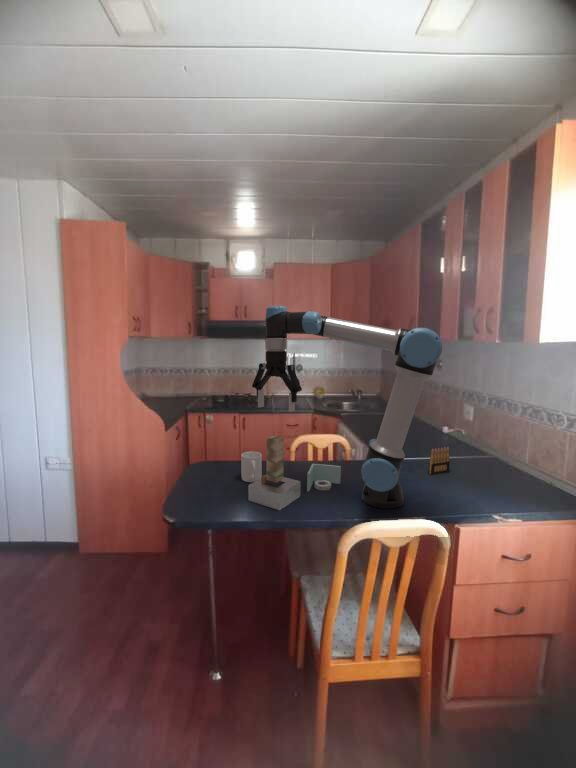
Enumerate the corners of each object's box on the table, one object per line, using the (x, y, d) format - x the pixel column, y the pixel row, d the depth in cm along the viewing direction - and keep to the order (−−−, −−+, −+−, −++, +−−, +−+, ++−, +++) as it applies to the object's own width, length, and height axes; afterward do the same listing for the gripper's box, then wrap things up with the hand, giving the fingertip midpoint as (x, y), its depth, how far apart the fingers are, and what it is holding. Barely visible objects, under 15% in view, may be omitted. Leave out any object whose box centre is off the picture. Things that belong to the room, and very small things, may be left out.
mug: (244, 486, 148) (243, 461, 147) (240, 476, 159) (240, 452, 158) (264, 484, 150) (265, 459, 149) (259, 474, 162) (259, 450, 160)
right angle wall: (306, 491, 144) (307, 473, 143) (312, 480, 156) (312, 463, 155) (337, 495, 142) (337, 476, 141) (340, 483, 153) (340, 466, 152)
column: (283, 478, 137) (284, 437, 135) (276, 482, 133) (276, 440, 131) (273, 476, 140) (273, 435, 138) (266, 479, 136) (266, 438, 134)
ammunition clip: (431, 475, 163) (432, 449, 162) (428, 473, 165) (429, 447, 163) (449, 472, 167) (451, 446, 166) (446, 470, 169) (448, 445, 167)
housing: (300, 496, 140) (300, 476, 139) (279, 510, 128) (279, 488, 127) (270, 487, 147) (270, 468, 146) (248, 500, 135) (248, 479, 134)
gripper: (311, 351, 127) (310, 411, 130) (255, 349, 140) (255, 403, 143) (300, 351, 121) (299, 414, 123) (242, 349, 134) (242, 406, 137)
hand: (275, 409), depth 133 cm, fingers open, 13 cm apart
